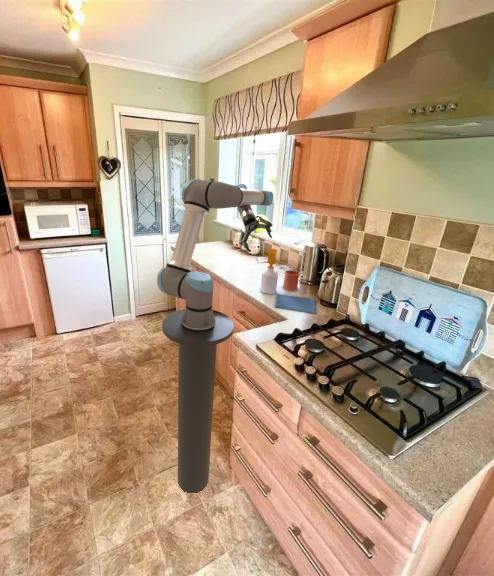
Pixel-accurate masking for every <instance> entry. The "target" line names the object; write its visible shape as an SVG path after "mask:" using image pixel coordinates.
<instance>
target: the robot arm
mask: <svg viewBox="0 0 494 576" xmlns="http://www.w3.org/2000/svg"><path fill="white" fill-rule="evenodd" d="M181 200H182V202H183V207H184V210H185V212H184V215H183V218H182V222H181V226H180V229H179V232H178V236H177V240H176V242H175V247H174V250H173V253H172V257H171V260H170V261H168V262H166V266H165V267H162V268H161V269H160V270H159V271H158V274H157V276H156V277H157V278H156V284H157V285H156V286H157V287H158V289H159V290H160V292H162V293H163V294H166V295H167V296H172V297H176V298H178V299H183V300H185V308H184V309H185V311H184V314H183V317H182V323H181V324H182V326H183V327H184V328H185V329H187V330H190V331H195V332H203V331H208V330H210V329H212V328H213V327H214V326H215V317H214V316H216V317H217V314H214V313H213V310H214V309H213V299H214V289H215V288H214V279H213V277H212V276H211V275H210V274H208V273H206V272H204V271H199V270H192V268H191V262H192V260H193V256H194V252H195V249H196V246H197V241H198V238H199V234H200V231H201V227H202V224H203V221H204V217H205V216H206V215H208V214H209V211H210V209H215V210H216V209H217V210H219V209H231V208H237V211H238V213H239V215H240V218H241V221H242V224H243V226H244V229H240V230H239V231H240V235H239V240H238V245H240V246H241V247H242V246H243V248H244V249H246V251H247V252H248V253H251V249H250V247H249V243H248V240H249V237H250V236H251V234H252V233H253V232H254V231H256V230H257V229H264V230H265V231H266V233H267V235H268V237H269V238H270V239H273V236H272V234H271V233H272V229H271V228H272V227H273V223H272V222H271V221H269V220H266V219H264V218H263V217H262V216H259V217H258V219H257V217H256V215H255V213H254V210H253V208H252V206H267V207H270V206H272V204H273V202H274V193H273V192H272V191H269V190H261V189H251V188H248V187H247V185H246V184H245V183H239V184H236V185H234V184H229V183H227V182H223V181H217V180H206V179H199V178H198V179H190V180H187V182H185V183H184V185H183V187H182V190H181Z"/></svg>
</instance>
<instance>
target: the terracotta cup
mask: <svg viewBox="0 0 494 576" xmlns="http://www.w3.org/2000/svg"><path fill="white" fill-rule="evenodd" d="M299 278H300V272H299V271H297V270H291V269H288V270H285V271H284V277H283V285H282V288H283V290H285V291H288V292H294V291H297V290H298V285H299Z"/></svg>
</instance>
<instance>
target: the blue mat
mask: <svg viewBox="0 0 494 576" xmlns="http://www.w3.org/2000/svg"><path fill="white" fill-rule="evenodd" d="M315 300H316V299H314V298H307V297H302V296H301V297H300V296H295V295H288V294H280V293H278V294H277V297H276V301H275V306H274V308H278V309H282V310H290V311H296V312H301V313H308V314H315V315H316V301H315Z"/></svg>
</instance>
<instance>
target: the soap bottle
mask: <svg viewBox="0 0 494 576" xmlns="http://www.w3.org/2000/svg"><path fill="white" fill-rule="evenodd" d="M277 252H278V249H276V248H269V249H268V254H267V264H269V265H268V266H267V269H266V270H264V271H262V273H261V279H260V292H261V293H263V294H266V295H272V294H276V292H277V286H278V278H279V274H278V273H277V272H276V271H275V270H274V269H275V266H274V265H275V264H276V259H277V257H276V256H277Z"/></svg>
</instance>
